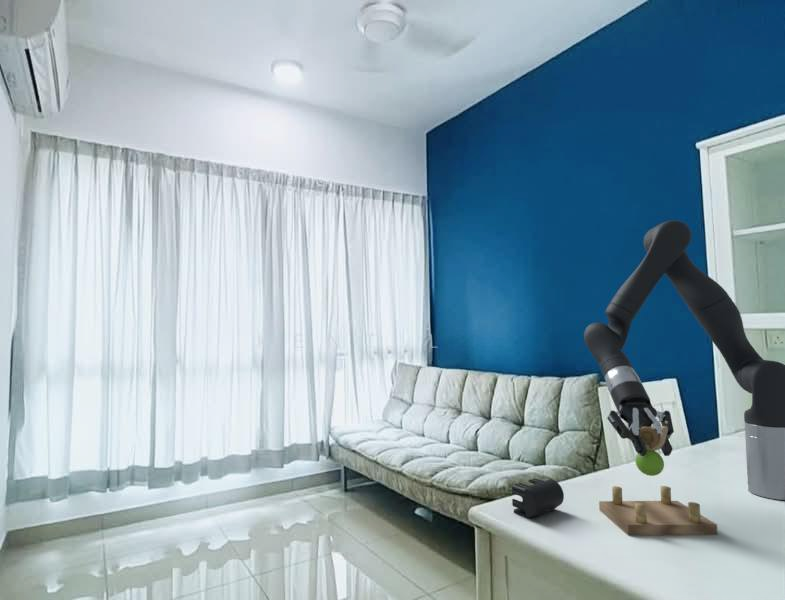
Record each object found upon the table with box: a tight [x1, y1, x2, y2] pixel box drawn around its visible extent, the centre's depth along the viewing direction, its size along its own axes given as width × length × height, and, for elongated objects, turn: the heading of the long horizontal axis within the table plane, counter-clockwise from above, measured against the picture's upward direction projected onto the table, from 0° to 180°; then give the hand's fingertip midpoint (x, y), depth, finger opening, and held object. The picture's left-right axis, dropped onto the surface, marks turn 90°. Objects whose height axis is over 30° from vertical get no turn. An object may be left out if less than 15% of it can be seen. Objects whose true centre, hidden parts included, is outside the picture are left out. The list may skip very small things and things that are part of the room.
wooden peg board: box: [598, 485, 718, 536], centre depth 100 cm, size 18×13×6 cm
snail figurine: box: [635, 421, 668, 477], centre depth 101 cm, size 5×6×12 cm
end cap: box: [511, 477, 565, 519], centre depth 106 cm, size 10×7×7 cm
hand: (656, 453), depth 99 cm, fingers closed on snail figurine, 4 cm apart
